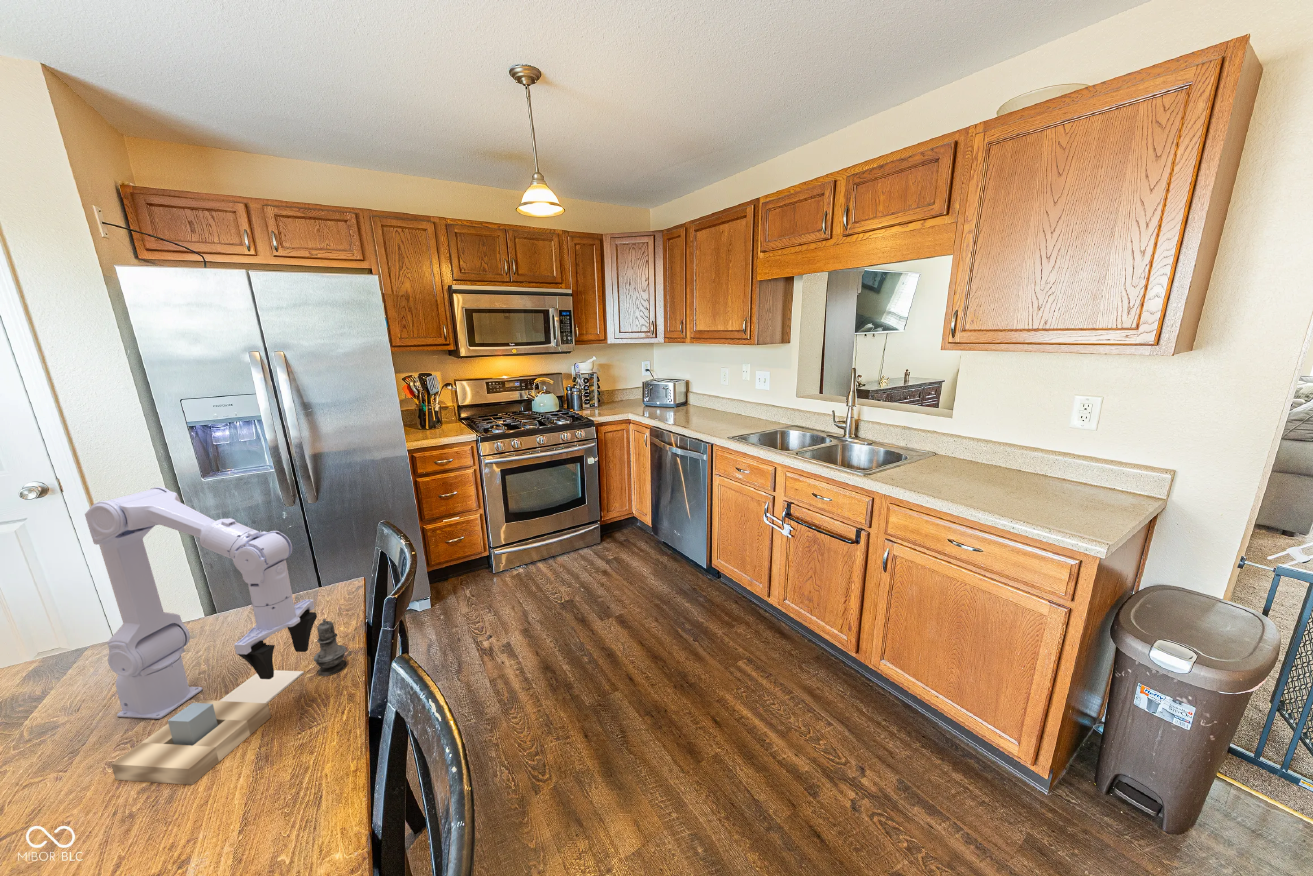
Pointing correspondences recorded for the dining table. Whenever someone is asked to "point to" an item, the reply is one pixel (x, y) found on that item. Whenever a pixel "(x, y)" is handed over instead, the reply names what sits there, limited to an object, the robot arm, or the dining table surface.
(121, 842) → the dining table surface
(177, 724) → the peg
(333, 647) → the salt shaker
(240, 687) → the coaster
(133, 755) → the pocket board
